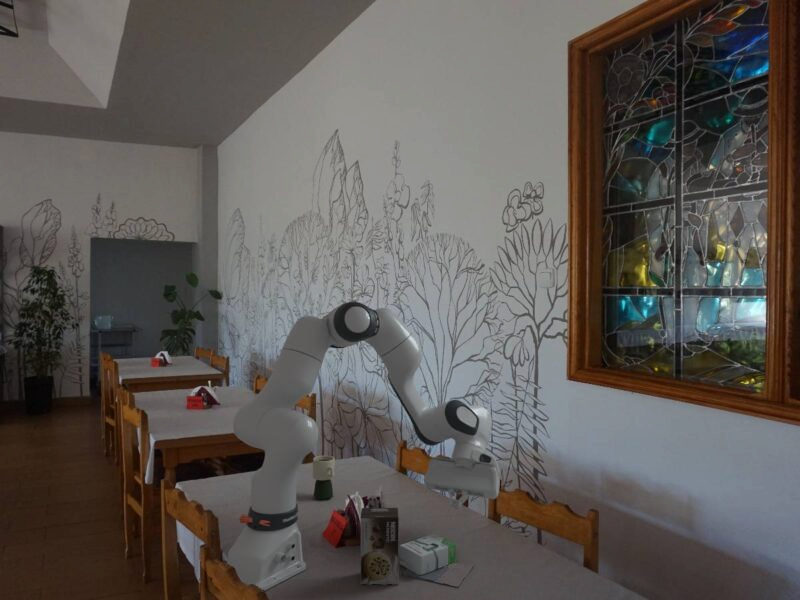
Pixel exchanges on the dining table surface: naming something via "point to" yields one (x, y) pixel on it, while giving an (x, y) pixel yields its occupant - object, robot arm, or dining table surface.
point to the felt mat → (429, 574)
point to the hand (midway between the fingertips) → (454, 507)
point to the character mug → (323, 476)
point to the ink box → (427, 554)
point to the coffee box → (379, 546)
